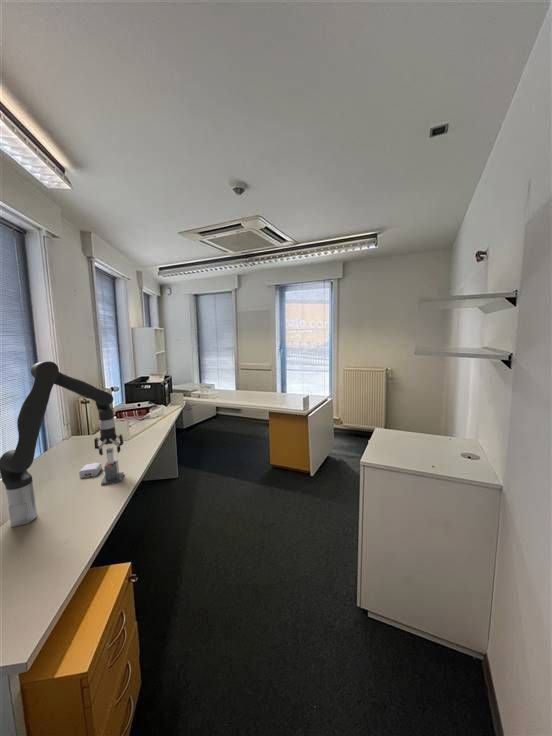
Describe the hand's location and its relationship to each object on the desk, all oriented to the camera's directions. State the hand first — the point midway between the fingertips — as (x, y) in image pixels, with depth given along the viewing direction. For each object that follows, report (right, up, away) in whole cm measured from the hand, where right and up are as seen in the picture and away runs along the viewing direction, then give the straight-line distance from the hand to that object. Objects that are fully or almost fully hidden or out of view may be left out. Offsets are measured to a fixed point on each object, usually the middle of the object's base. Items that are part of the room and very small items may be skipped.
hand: (110, 453), depth 166 cm
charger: (-19, -16, +14) cm, 28 cm away
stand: (+1, -16, +2) cm, 16 cm away
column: (0, -14, +2) cm, 14 cm away
